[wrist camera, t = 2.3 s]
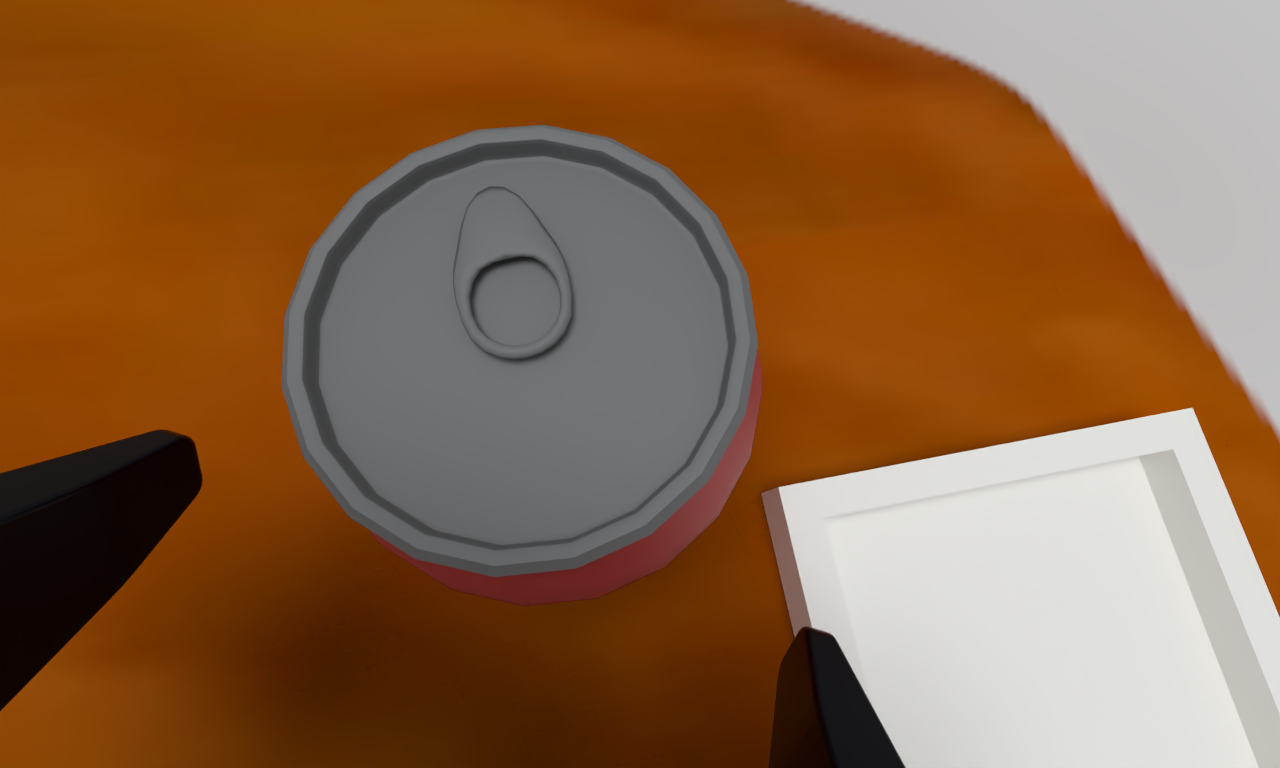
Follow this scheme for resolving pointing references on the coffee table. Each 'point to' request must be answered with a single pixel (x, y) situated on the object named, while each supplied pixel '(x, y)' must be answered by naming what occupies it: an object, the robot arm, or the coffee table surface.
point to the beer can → (525, 363)
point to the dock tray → (1045, 601)
